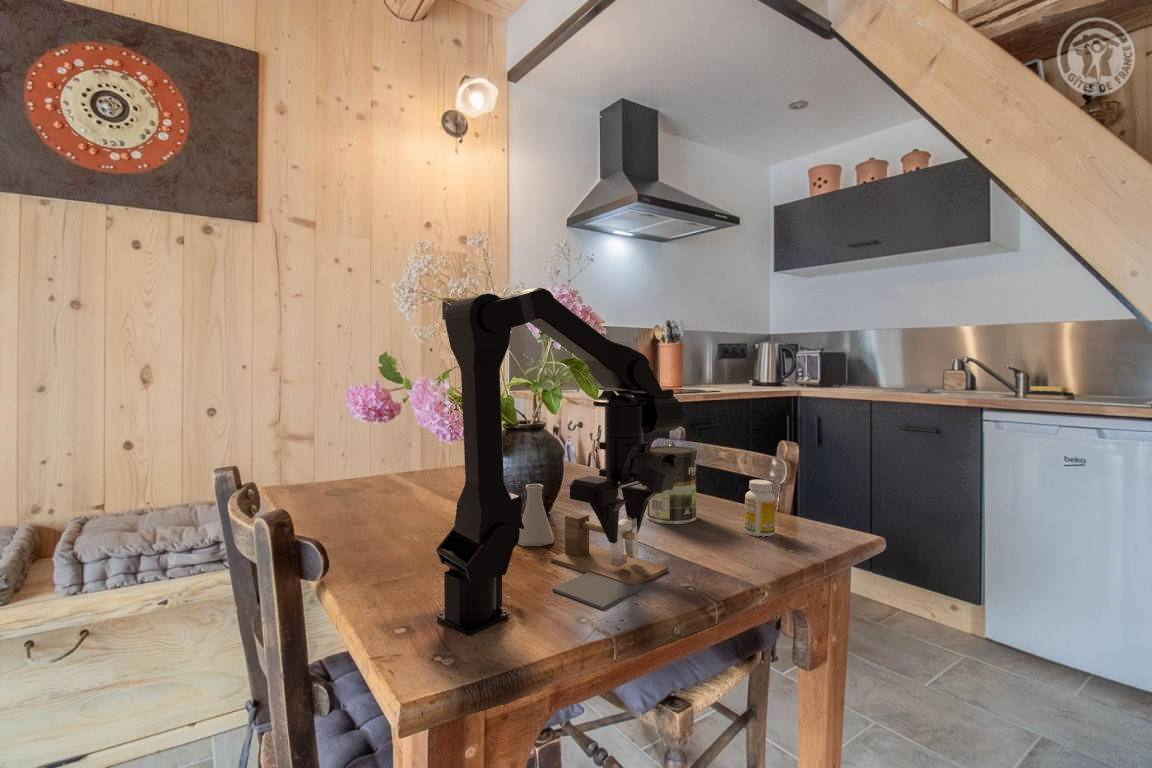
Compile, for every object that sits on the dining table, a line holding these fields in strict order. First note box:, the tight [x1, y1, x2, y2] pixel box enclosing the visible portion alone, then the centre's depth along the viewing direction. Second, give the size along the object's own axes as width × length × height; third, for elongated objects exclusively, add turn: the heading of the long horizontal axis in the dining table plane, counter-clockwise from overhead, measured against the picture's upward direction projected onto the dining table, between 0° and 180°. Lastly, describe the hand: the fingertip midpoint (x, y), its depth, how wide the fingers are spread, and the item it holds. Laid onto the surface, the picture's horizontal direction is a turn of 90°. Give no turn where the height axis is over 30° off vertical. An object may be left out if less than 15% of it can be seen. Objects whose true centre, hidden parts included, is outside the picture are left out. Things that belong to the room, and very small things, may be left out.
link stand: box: [550, 511, 669, 586], centre depth 86 cm, size 9×16×7 cm, turn 48°
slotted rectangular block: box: [609, 516, 639, 567], centre depth 84 cm, size 5×1×6 cm, turn 138°
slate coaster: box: [551, 572, 644, 611], centre depth 77 cm, size 9×9×1 cm
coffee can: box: [645, 445, 698, 525], centre depth 113 cm, size 10×10×14 cm
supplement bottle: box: [744, 479, 776, 538], centre depth 103 cm, size 5×5×10 cm
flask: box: [517, 483, 555, 547], centre depth 98 cm, size 7×7×10 cm
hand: (623, 538), depth 84 cm, fingers closed on slotted rectangular block, 5 cm apart
